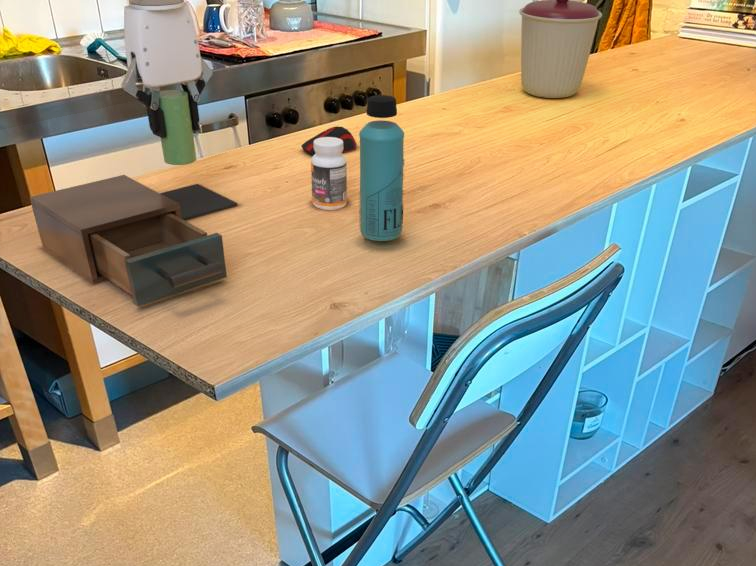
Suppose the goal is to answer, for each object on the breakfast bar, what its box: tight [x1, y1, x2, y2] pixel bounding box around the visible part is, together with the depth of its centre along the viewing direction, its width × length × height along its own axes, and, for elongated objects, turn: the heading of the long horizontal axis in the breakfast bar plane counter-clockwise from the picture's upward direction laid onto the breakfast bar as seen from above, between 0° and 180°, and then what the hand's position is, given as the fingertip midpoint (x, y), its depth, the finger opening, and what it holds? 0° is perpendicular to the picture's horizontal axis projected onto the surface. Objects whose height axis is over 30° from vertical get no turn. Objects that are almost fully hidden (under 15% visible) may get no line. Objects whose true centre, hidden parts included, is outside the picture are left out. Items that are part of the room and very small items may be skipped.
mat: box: [159, 183, 238, 221], centre depth 132 cm, size 12×12×1 cm
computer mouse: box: [300, 126, 357, 157], centre depth 153 cm, size 6×11×4 cm, turn 133°
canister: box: [518, 0, 603, 99], centre depth 183 cm, size 18×18×21 cm
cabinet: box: [29, 174, 182, 285], centre depth 115 cm, size 16×15×8 cm
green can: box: [159, 89, 197, 166], centre depth 125 cm, size 5×5×10 cm
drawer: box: [88, 212, 228, 307], centre depth 107 cm, size 19×13×6 cm
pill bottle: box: [310, 137, 348, 211], centre depth 130 cm, size 6×6×10 cm
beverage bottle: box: [358, 94, 406, 242], centre depth 115 cm, size 6×7×20 cm
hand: (176, 130), depth 125 cm, fingers closed on green can, 5 cm apart
